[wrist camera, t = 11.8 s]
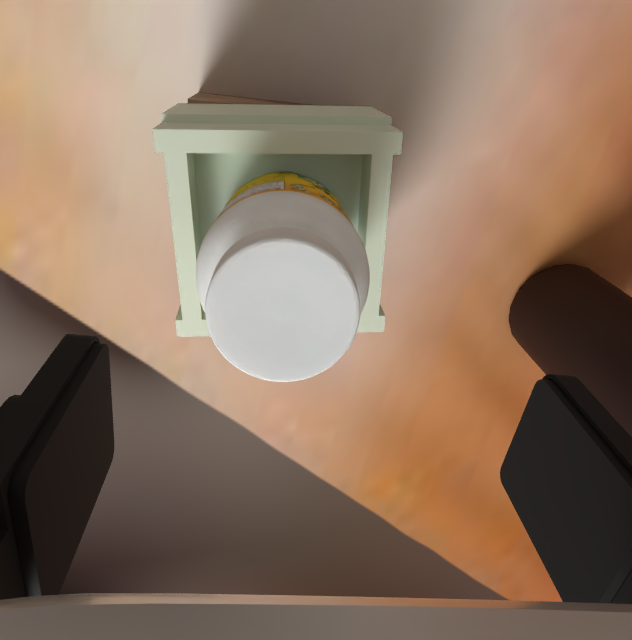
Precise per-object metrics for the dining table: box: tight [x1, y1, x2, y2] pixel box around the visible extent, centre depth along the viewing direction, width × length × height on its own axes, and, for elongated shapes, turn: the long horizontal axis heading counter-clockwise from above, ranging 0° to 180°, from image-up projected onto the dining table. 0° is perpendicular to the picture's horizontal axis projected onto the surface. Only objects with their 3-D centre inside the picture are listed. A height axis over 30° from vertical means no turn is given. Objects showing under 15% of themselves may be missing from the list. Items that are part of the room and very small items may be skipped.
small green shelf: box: [152, 103, 403, 337], centre depth 23 cm, size 9×9×6 cm
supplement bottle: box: [196, 171, 370, 382], centre depth 17 cm, size 5×5×10 cm
